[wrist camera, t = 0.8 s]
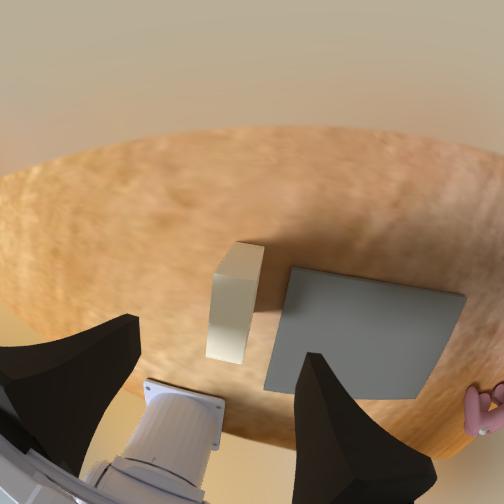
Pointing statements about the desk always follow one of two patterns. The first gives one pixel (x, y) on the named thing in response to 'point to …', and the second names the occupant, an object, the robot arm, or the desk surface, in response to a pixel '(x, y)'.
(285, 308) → the mat
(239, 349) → the block
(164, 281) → the desk surface
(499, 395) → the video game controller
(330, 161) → the desk surface
